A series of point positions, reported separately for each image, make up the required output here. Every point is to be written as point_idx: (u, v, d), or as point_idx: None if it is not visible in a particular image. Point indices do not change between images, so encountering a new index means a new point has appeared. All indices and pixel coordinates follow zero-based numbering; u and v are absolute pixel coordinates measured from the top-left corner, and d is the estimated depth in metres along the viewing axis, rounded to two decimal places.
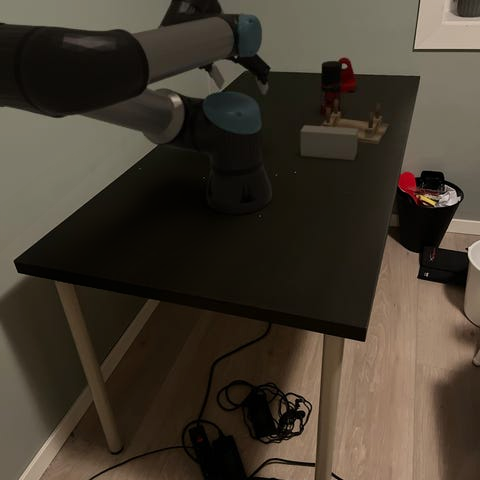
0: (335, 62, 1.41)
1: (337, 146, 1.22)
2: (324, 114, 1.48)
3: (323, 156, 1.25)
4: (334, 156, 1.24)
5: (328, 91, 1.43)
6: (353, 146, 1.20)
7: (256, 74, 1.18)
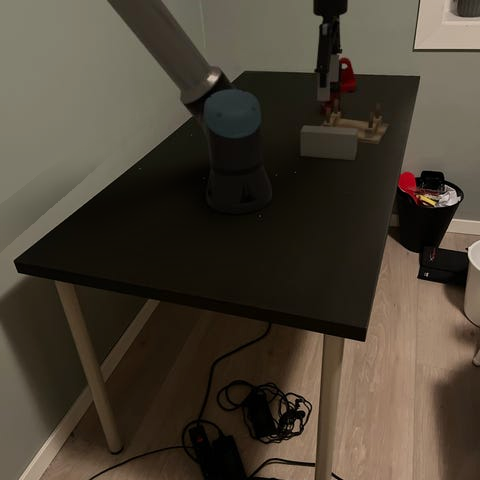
0: None
1: (337, 146, 1.22)
2: (324, 114, 1.48)
3: (323, 156, 1.25)
4: (334, 156, 1.24)
5: None
6: (353, 146, 1.20)
7: None
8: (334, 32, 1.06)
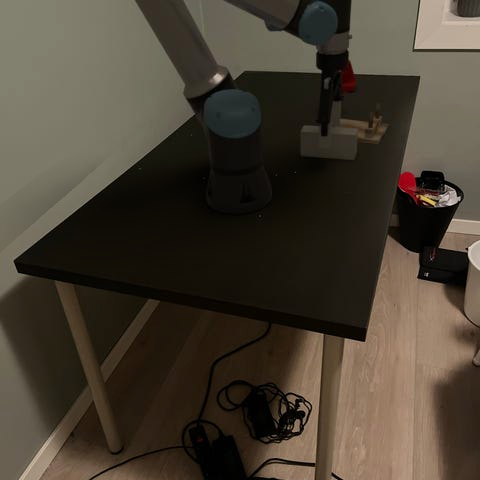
0: None
1: (337, 146, 1.22)
2: None
3: (323, 156, 1.25)
4: (334, 156, 1.24)
5: None
6: (353, 146, 1.20)
7: None
8: (335, 85, 1.12)
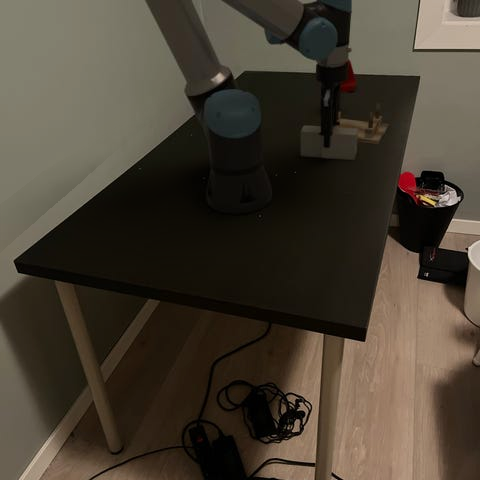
0: None
1: (337, 146, 1.22)
2: None
3: None
4: (334, 156, 1.24)
5: None
6: (353, 146, 1.20)
7: None
8: (335, 98, 1.15)
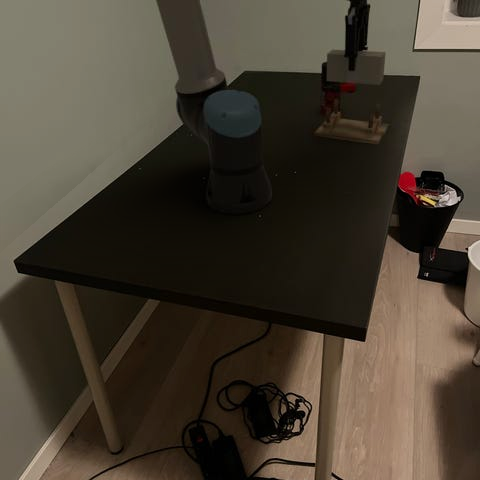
0: None
1: (362, 69, 1.22)
2: (324, 114, 1.48)
3: None
4: (359, 80, 1.24)
5: (328, 91, 1.43)
6: (378, 69, 1.20)
7: None
8: (361, 18, 1.15)
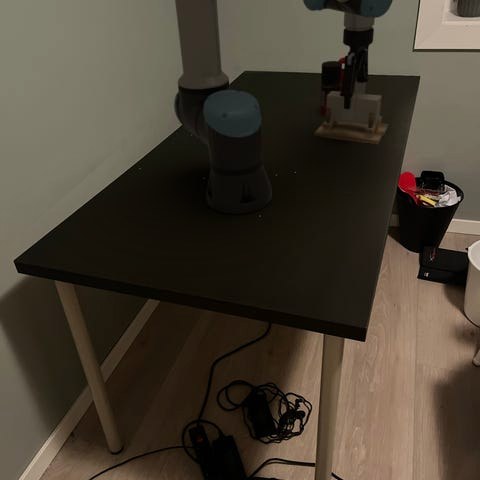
0: (335, 62, 1.41)
1: (360, 111, 1.30)
2: (324, 114, 1.48)
3: (347, 120, 1.33)
4: (357, 121, 1.32)
5: (328, 91, 1.43)
6: (375, 111, 1.28)
7: None
8: (359, 61, 1.22)
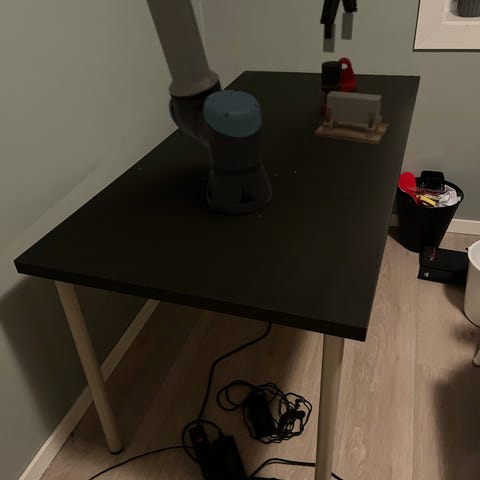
0: (335, 62, 1.41)
1: (360, 111, 1.30)
2: (324, 114, 1.48)
3: (347, 120, 1.33)
4: (357, 121, 1.32)
5: (328, 91, 1.43)
6: (375, 111, 1.28)
7: None
8: None
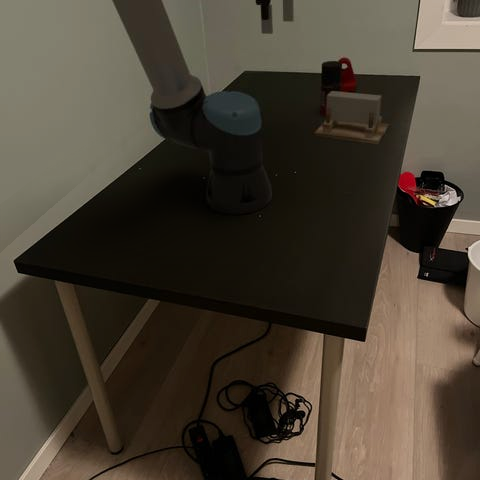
0: (335, 62, 1.41)
1: (360, 111, 1.30)
2: (324, 114, 1.48)
3: (347, 120, 1.33)
4: (357, 121, 1.32)
5: (328, 91, 1.43)
6: (375, 111, 1.28)
7: None
8: None
